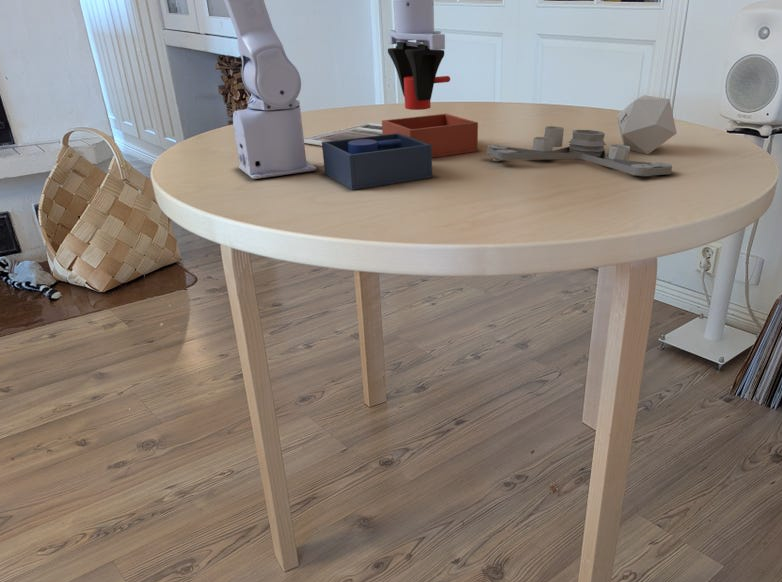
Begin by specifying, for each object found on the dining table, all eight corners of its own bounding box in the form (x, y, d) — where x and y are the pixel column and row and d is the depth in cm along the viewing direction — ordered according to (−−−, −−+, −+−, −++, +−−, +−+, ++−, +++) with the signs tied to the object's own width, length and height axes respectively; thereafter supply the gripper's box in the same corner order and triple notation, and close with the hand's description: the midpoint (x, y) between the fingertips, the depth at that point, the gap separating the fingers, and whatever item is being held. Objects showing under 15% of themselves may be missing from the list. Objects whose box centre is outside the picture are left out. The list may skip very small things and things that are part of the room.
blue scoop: (357, 179, 91) (354, 146, 89) (346, 173, 94) (343, 141, 92) (408, 171, 94) (406, 139, 92) (395, 166, 97) (394, 135, 95)
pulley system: (507, 149, 111) (477, 164, 98) (509, 120, 109) (479, 131, 96) (675, 168, 103) (666, 186, 90) (681, 136, 100) (673, 151, 88)
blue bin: (352, 190, 88) (349, 155, 86) (324, 174, 96) (321, 142, 93) (432, 177, 93) (431, 144, 91) (400, 163, 101) (398, 132, 99)
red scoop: (412, 110, 101) (411, 79, 99) (400, 107, 104) (399, 77, 102) (456, 106, 104) (456, 75, 102) (444, 102, 107) (443, 73, 105)
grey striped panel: (345, 149, 109) (412, 131, 122) (344, 145, 109) (412, 128, 122) (300, 142, 115) (368, 125, 127) (299, 139, 114) (368, 122, 127)
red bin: (411, 160, 103) (410, 130, 100) (383, 148, 110) (381, 120, 108) (477, 151, 108) (478, 122, 106) (446, 140, 115) (446, 113, 113)
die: (625, 146, 113) (603, 99, 106) (677, 120, 109) (657, 70, 103) (635, 175, 108) (612, 128, 101) (689, 149, 104) (670, 99, 97)
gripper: (463, -2, 92) (463, 101, 99) (415, -3, 103) (418, 90, 110) (418, -1, 89) (421, 106, 96) (374, -2, 100) (379, 94, 107)
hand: (417, 98), depth 103 cm, fingers closed on red scoop, 4 cm apart
